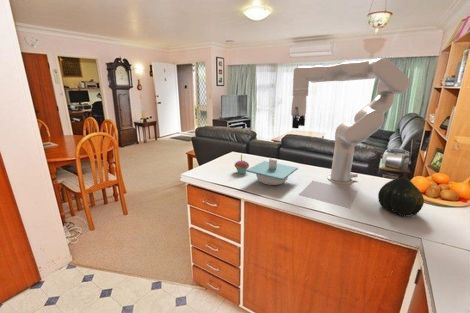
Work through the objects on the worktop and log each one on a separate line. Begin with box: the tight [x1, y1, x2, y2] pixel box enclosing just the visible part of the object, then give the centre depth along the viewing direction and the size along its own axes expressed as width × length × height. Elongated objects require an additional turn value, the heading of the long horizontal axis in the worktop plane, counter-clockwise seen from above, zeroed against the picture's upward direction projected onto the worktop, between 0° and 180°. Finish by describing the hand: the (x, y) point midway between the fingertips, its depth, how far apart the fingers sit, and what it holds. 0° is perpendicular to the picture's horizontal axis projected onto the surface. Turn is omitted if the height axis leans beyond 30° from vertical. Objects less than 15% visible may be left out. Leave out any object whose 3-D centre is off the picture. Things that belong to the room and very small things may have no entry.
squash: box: [377, 176, 425, 217], centre depth 95 cm, size 14×15×15 cm
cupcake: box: [234, 153, 250, 175], centre depth 137 cm, size 9×8×12 cm
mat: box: [298, 180, 358, 209], centre depth 112 cm, size 22×22×1 cm
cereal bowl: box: [255, 174, 289, 186], centre depth 123 cm, size 17×17×7 cm
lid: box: [246, 158, 299, 180], centre depth 121 cm, size 20×20×6 cm
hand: (298, 126), depth 122 cm, fingers open, 9 cm apart
